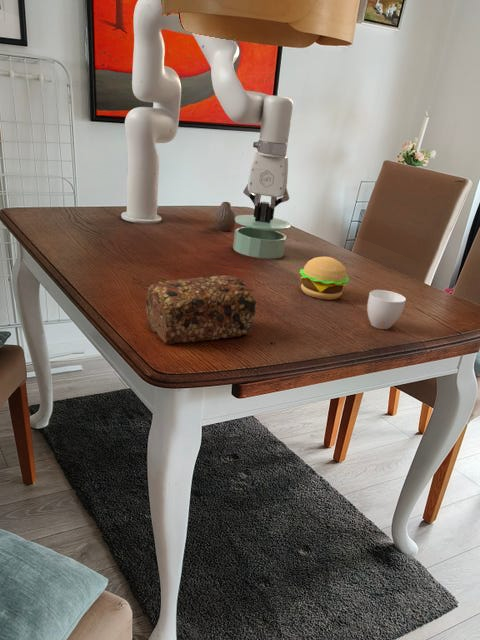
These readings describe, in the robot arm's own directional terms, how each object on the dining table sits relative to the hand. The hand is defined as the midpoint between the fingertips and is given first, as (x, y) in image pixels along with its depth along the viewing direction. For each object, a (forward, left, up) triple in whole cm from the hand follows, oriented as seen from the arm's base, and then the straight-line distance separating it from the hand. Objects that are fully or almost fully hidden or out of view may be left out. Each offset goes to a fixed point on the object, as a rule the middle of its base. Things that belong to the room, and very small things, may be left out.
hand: (262, 220), depth 163 cm
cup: (+41, +35, -9) cm, 55 cm away
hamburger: (+27, +21, -9) cm, 36 cm away
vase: (-19, -15, -9) cm, 26 cm away
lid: (0, 0, -1) cm, 1 cm away
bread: (+66, +1, -9) cm, 66 cm away
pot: (0, 0, -9) cm, 9 cm away
